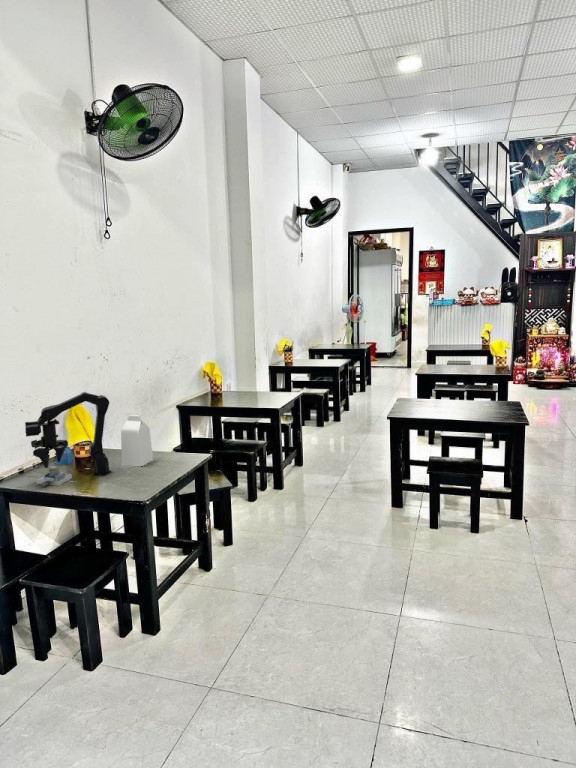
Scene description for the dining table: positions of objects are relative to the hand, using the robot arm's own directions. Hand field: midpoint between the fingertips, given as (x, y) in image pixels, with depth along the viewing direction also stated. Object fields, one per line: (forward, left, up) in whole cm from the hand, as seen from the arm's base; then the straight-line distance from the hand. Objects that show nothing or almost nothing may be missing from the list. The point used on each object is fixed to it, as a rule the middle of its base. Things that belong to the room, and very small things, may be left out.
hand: (52, 464), depth 257 cm
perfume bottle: (+13, -26, -8) cm, 30 cm away
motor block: (0, +2, -8) cm, 8 cm away
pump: (0, 0, -6) cm, 6 cm away
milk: (-27, -32, -8) cm, 43 cm away
